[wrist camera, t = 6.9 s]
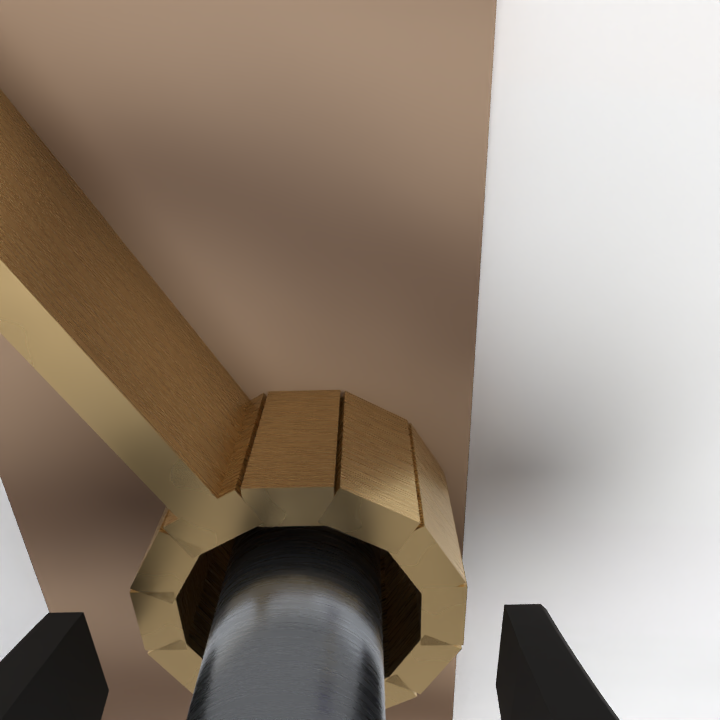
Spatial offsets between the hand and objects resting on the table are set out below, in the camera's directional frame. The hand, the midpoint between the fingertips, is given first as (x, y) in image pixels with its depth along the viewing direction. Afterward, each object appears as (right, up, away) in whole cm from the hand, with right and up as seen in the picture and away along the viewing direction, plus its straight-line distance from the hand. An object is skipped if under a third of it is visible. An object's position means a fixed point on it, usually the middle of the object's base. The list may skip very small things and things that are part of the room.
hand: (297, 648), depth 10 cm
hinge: (-1, +1, +4) cm, 4 cm away
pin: (0, +2, +3) cm, 4 cm away
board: (-2, +1, +5) cm, 5 cm away
